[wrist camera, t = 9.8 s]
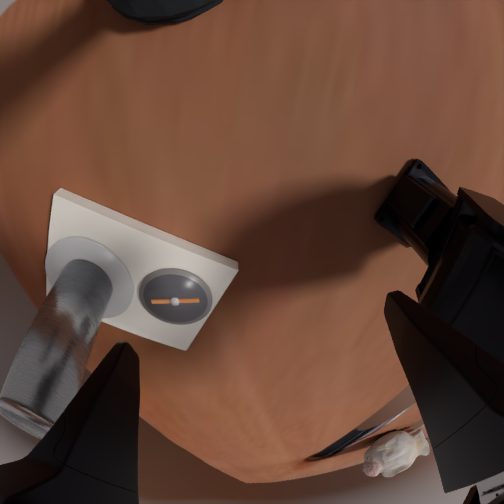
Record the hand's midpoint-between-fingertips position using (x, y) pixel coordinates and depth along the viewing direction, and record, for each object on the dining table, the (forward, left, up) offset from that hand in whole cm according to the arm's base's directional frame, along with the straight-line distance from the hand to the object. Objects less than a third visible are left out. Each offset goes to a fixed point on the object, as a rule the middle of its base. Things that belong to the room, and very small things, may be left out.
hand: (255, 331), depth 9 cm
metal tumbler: (+8, +13, -11) cm, 19 cm away
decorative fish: (-75, +46, -13) cm, 89 cm away
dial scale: (+5, +12, -13) cm, 18 cm away
